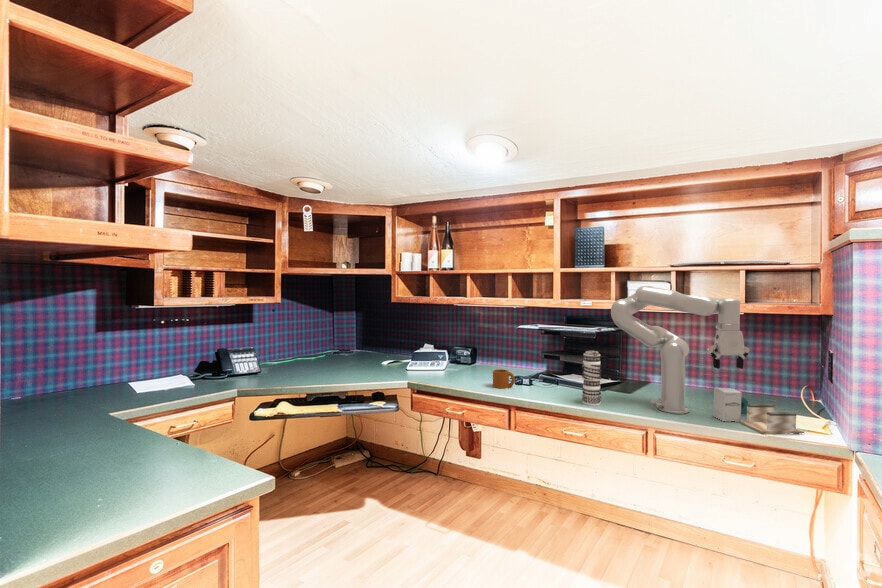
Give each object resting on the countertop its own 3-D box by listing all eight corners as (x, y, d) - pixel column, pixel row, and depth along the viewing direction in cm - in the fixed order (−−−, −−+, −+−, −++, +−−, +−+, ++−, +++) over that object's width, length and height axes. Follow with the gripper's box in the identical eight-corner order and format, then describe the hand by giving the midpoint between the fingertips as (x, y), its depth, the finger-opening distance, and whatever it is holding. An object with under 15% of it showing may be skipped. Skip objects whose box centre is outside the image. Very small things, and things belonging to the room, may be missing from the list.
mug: (511, 390, 231) (511, 373, 230) (490, 388, 236) (490, 371, 236) (516, 386, 239) (516, 370, 238) (495, 384, 244) (495, 368, 244)
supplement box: (723, 422, 178) (723, 391, 178) (712, 416, 186) (713, 387, 185) (741, 422, 178) (742, 392, 177) (730, 416, 185) (730, 387, 185)
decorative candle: (603, 402, 208) (604, 350, 207) (599, 406, 200) (599, 353, 199) (584, 399, 212) (584, 349, 212) (579, 403, 205) (579, 351, 204)
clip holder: (762, 433, 164) (762, 413, 164) (738, 422, 177) (739, 404, 177) (804, 434, 164) (804, 413, 164) (777, 422, 177) (778, 404, 177)
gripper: (713, 328, 177) (713, 370, 177) (756, 328, 177) (755, 369, 177) (702, 326, 184) (702, 366, 185) (743, 326, 184) (742, 366, 185)
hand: (728, 368), depth 181 cm, fingers open, 9 cm apart
